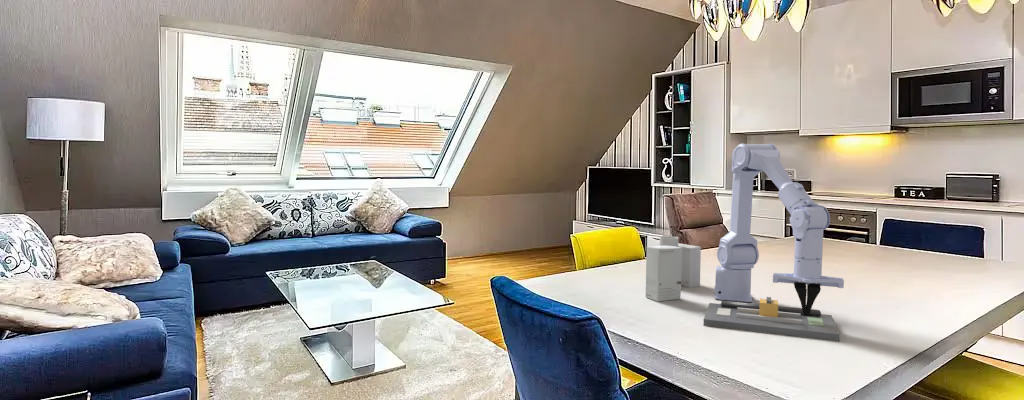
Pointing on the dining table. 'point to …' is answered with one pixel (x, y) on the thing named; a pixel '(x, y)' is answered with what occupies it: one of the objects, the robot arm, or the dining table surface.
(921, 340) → the dining table surface
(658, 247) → the skincare box
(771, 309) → the switch
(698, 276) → the white box
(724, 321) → the grey base plate
